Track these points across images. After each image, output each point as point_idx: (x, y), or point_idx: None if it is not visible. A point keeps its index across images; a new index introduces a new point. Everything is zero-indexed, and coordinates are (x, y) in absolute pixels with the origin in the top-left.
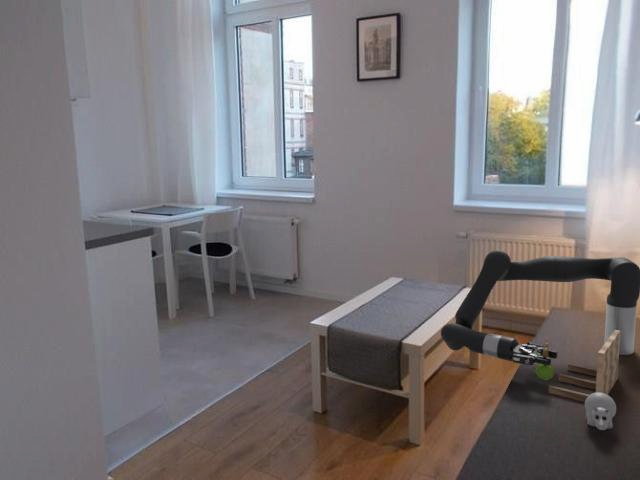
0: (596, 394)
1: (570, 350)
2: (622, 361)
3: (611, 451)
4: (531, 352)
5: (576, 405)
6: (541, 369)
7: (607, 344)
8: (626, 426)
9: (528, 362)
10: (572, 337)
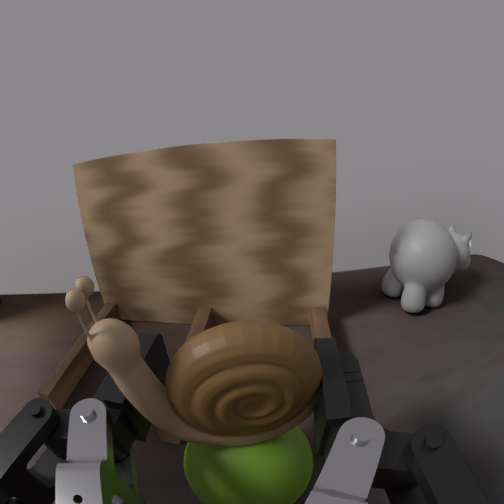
0: (438, 225)
1: None
2: (22, 306)
3: (468, 271)
4: (329, 491)
5: (368, 352)
6: (306, 457)
7: (228, 141)
8: (375, 274)
9: (410, 496)
10: None
